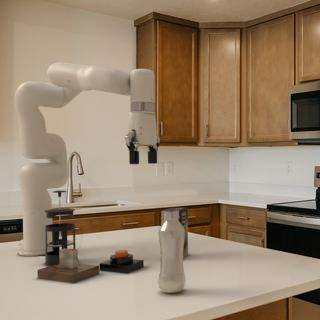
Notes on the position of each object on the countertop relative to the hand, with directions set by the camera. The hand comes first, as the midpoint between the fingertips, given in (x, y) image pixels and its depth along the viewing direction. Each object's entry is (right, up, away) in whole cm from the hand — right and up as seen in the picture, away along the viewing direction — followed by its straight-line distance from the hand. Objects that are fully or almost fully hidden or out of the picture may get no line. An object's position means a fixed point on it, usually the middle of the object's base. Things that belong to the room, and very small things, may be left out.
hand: (143, 163), depth 142 cm
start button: (-5, -28, -7) cm, 29 cm away
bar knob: (-18, -29, -15) cm, 37 cm away
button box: (-5, -31, -7) cm, 33 cm away
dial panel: (-18, -32, -15) cm, 39 cm away
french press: (-27, -32, +2) cm, 42 cm away
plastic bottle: (+13, -32, -30) cm, 46 cm away
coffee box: (+9, -31, +8) cm, 33 cm away
